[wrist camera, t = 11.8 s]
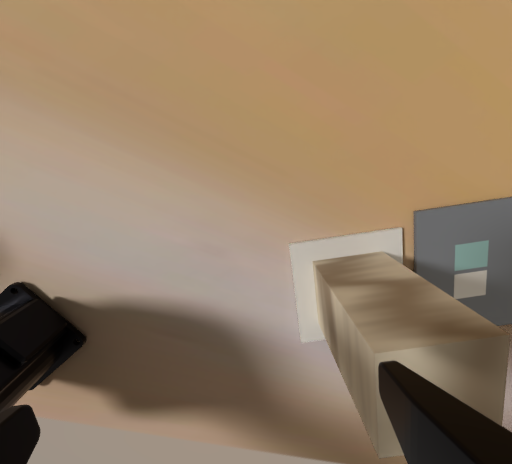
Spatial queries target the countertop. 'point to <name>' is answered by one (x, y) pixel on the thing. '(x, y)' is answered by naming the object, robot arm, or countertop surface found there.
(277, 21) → the countertop surface
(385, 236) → the pad
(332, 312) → the birch block
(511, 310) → the gray tile
